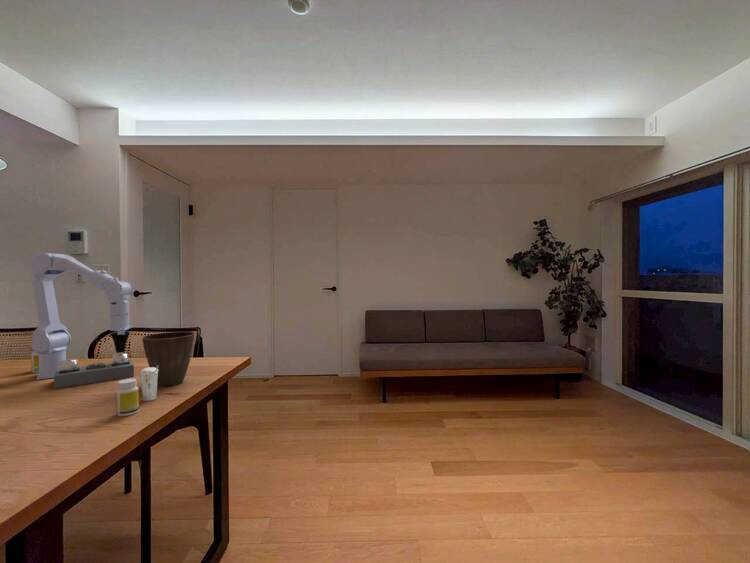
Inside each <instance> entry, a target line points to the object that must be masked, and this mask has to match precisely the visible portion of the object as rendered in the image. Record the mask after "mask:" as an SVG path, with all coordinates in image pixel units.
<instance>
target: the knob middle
mask: <svg viewBox="0 0 750 563" xmlns="http://www.w3.org/2000/svg"><path fill="white" fill-rule="evenodd" d="M104 363H105V362H94V363H90V364H87V365H88V370H90V369H97V368H104Z"/></svg>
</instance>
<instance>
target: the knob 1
mask: <svg viewBox="0 0 750 563" xmlns="http://www.w3.org/2000/svg"><path fill="white" fill-rule="evenodd" d="M78 365H79V363H78V359H77V358H70V359H69V358H68V359H67V358H66V360H62V361H60V373H68V372H76V371H78Z"/></svg>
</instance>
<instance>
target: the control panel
mask: <svg viewBox="0 0 750 563" xmlns="http://www.w3.org/2000/svg"><path fill="white" fill-rule="evenodd" d="M103 363H104V368H97V369H90V370H88V365H89V364H87V365H86V364H85V365H79V366H78V371H76V372H68V373H60V369H56V372H55V375H54V377H53V389H54V390H55V389H62V388H63V389H64V388H69V387H75V386H81V385H87V384H88V385H89V384H92V383H93V384H94V383H95V384H96V383H100V382H106V381H111V380H112V381H113V380H119V379H128V378H132V377H134V376H135V365H134V363H133V361H132V359H128V364H126V365H119V366H113V361H110V362H103Z"/></svg>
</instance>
